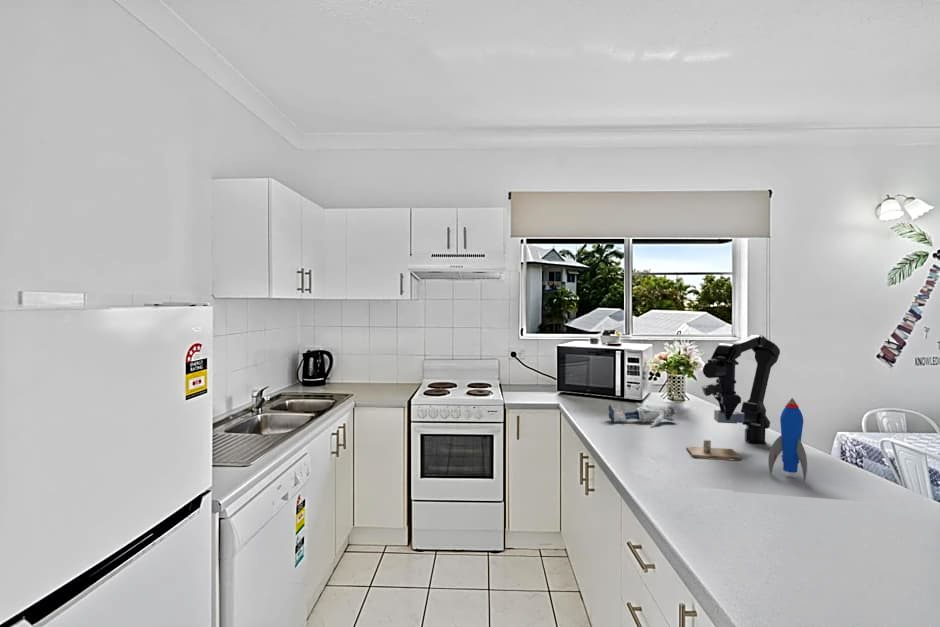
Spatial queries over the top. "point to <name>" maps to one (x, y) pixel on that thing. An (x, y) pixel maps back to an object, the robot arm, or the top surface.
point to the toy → (643, 414)
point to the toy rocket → (790, 441)
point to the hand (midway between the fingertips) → (725, 418)
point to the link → (735, 418)
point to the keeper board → (712, 452)
